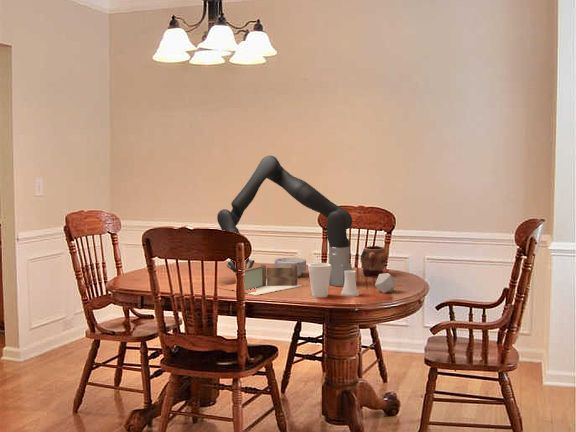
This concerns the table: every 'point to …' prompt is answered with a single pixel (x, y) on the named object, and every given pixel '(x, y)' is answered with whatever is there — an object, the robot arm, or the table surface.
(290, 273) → the fence post and fixed section
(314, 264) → the foam cup
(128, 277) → the table surface
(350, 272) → the salt shaker
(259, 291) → the card
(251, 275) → the green rectangular panel
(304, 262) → the paper bowls
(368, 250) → the decorative planter
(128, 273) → the table surface
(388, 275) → the die
